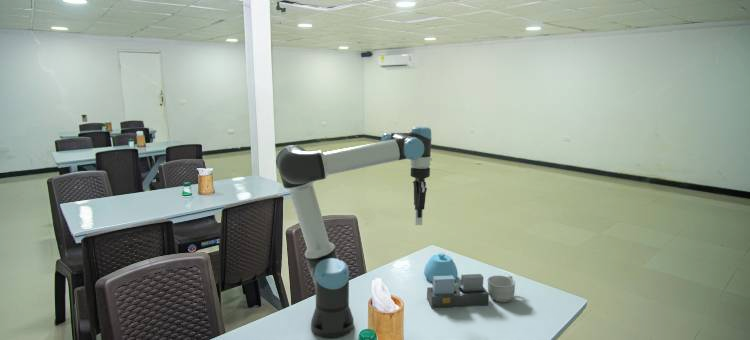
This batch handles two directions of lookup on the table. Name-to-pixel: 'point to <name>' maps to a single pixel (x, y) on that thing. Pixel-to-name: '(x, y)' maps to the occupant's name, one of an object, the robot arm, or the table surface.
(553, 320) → the table surface
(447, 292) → the panel
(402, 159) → the robot arm
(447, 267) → the sugar bowl
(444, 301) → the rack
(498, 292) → the teacup
